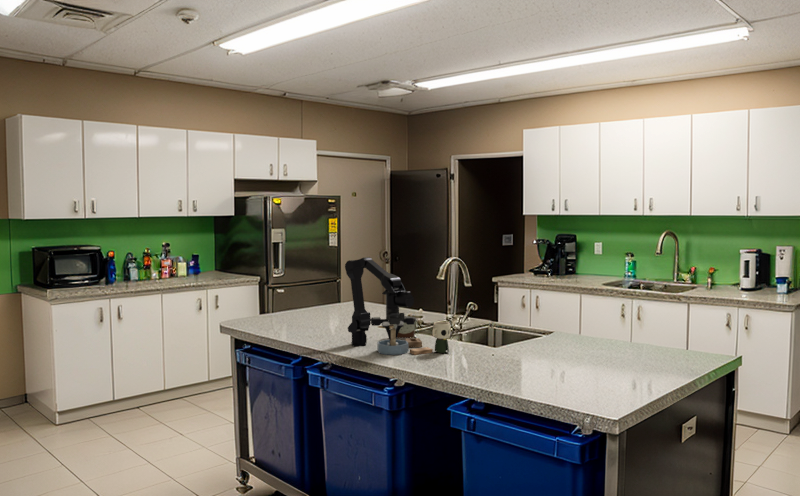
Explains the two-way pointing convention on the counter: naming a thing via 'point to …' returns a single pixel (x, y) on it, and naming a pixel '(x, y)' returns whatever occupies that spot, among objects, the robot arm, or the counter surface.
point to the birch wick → (393, 336)
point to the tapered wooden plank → (421, 351)
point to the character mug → (441, 336)
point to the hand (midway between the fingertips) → (392, 340)
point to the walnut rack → (414, 342)
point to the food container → (406, 330)
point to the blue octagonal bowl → (392, 347)
